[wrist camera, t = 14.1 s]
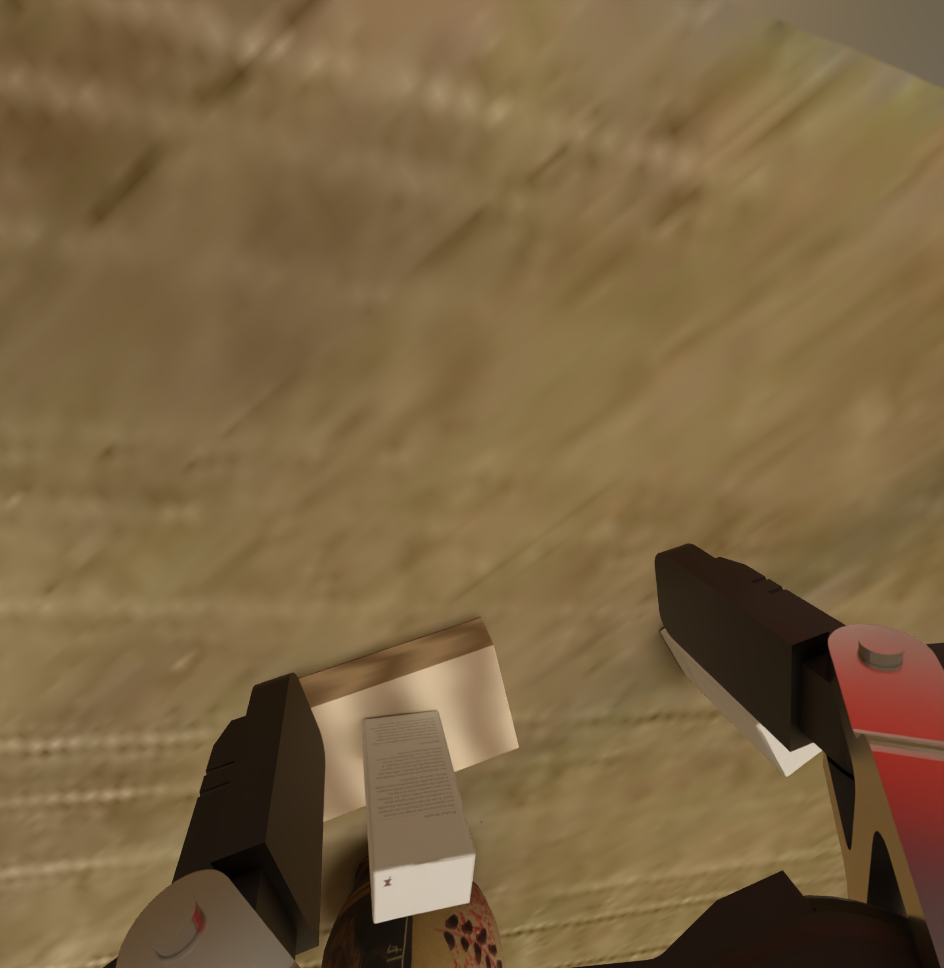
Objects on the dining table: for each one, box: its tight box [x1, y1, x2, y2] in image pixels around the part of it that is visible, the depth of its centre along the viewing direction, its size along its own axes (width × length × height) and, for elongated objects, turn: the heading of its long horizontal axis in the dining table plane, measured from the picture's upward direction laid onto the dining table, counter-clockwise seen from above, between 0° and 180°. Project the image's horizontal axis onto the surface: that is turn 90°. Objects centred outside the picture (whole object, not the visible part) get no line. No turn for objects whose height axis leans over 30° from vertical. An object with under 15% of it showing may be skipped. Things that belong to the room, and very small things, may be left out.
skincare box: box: [363, 711, 476, 923], centre depth 35 cm, size 6×4×12 cm
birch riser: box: [299, 618, 519, 822], centre depth 43 cm, size 18×11×4 cm, turn 103°
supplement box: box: [660, 628, 822, 777], centre depth 45 cm, size 7×7×13 cm
